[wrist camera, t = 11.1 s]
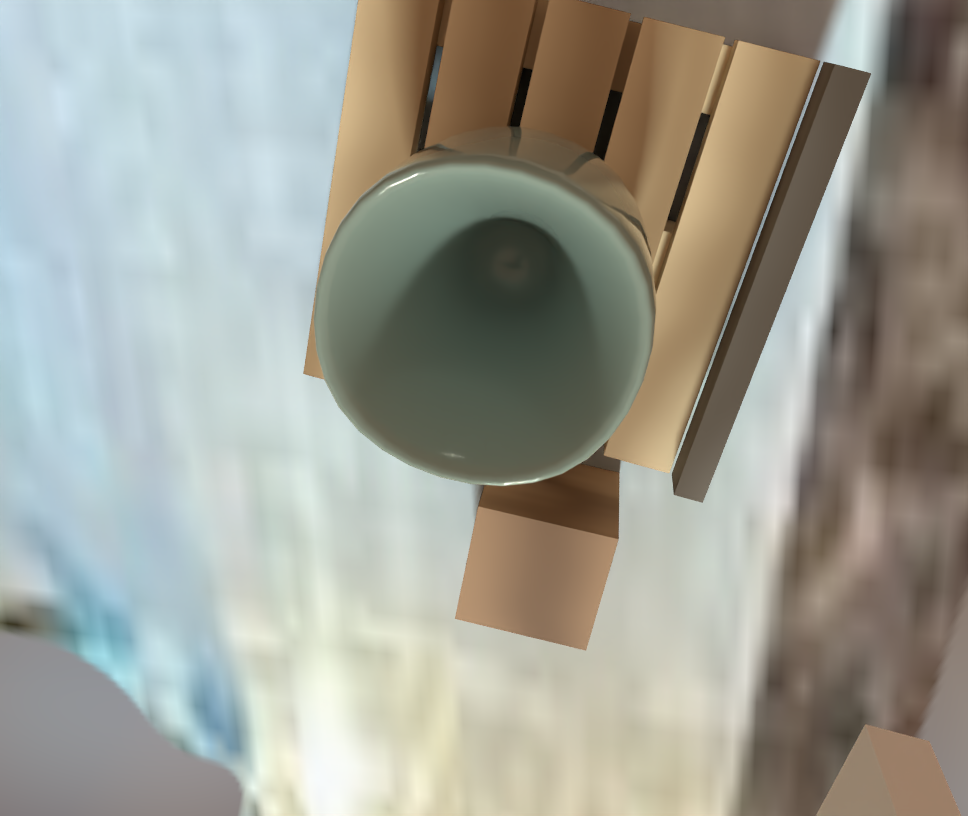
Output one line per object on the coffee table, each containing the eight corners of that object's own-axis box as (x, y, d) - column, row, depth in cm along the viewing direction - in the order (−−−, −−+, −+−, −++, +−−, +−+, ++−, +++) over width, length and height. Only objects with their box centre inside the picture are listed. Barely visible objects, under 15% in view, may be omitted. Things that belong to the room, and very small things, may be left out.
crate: (475, 545, 37) (454, 618, 33) (497, 443, 35) (478, 506, 31) (590, 573, 37) (585, 650, 32) (619, 471, 35) (618, 539, 30)
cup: (437, 79, 27) (340, 110, 18) (681, 149, 27) (709, 216, 18) (386, 311, 30) (284, 436, 21) (604, 375, 30) (593, 530, 21)
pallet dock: (324, 344, 34) (283, 388, 30) (385, -48, 28) (344, -59, 24) (693, 444, 34) (702, 502, 30) (835, 65, 28) (870, 73, 24)
